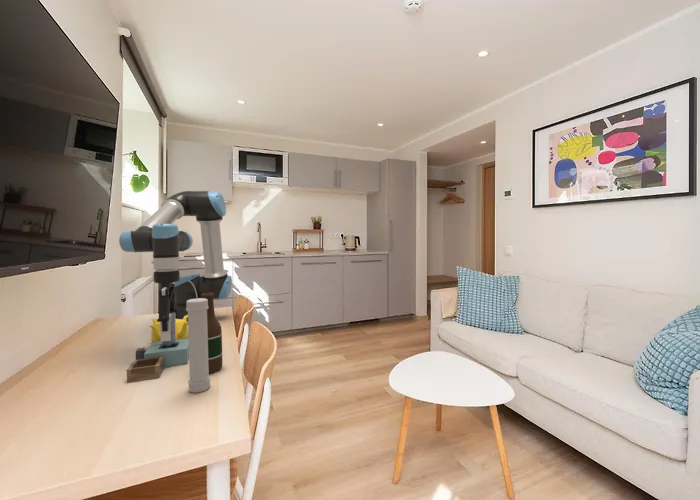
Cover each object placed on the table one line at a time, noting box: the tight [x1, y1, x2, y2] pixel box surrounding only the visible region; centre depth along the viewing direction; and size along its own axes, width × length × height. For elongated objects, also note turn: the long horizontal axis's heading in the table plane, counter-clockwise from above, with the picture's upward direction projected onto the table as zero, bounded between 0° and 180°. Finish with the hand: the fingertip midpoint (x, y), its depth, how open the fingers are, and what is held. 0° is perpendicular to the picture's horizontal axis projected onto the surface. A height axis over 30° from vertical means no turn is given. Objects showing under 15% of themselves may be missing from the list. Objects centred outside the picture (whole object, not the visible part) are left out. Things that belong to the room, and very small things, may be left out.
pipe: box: [186, 280, 211, 393], centre depth 85 cm, size 6×6×30 cm
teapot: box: [147, 315, 189, 343], centre depth 126 cm, size 15×14×10 cm
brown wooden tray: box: [126, 356, 165, 383], centre depth 95 cm, size 8×8×4 cm
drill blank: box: [162, 312, 176, 349], centre depth 106 cm, size 4×4×16 cm
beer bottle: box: [201, 292, 223, 375], centre depth 98 cm, size 8×8×24 cm
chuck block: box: [144, 338, 189, 368], centre depth 106 cm, size 12×12×5 cm
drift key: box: [135, 347, 148, 360], centre depth 108 cm, size 3×10×4 cm, turn 111°
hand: (168, 336), depth 106 cm, fingers open, 10 cm apart
